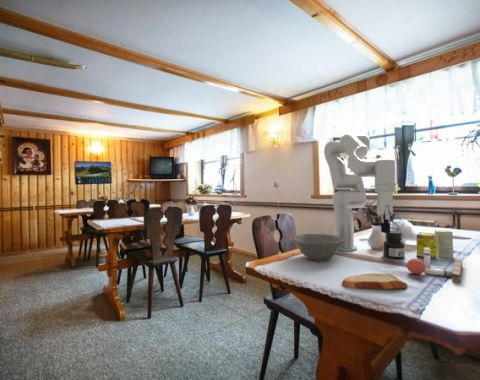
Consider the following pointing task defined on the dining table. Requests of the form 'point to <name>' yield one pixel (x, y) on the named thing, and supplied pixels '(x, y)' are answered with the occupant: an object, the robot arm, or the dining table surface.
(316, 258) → the ceramic bowl
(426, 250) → the pin
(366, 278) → the slice of bread
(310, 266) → the dining table surface
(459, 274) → the back rail
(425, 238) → the supplement box
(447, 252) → the skincare box
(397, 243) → the ink bottle
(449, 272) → the pin
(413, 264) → the ball
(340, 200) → the robot arm
